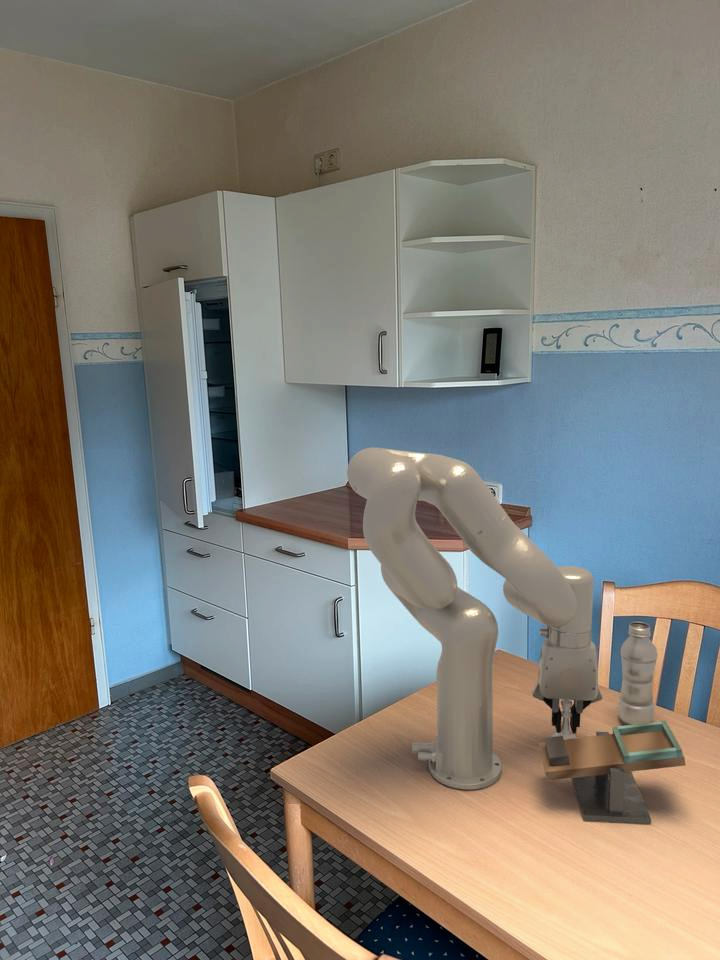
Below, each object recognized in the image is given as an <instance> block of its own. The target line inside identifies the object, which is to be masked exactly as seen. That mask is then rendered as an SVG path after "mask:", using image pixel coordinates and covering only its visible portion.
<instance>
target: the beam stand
mask: <svg viewBox="0 0 720 960" xmlns="http://www.w3.org/2000/svg"><path fill="white" fill-rule="evenodd" d="M607 734H610V732H609V731H596V732H595V736H598V735H607ZM571 780H572V784H573V786H574V788H573V789H574V792H575V795H576V798H577V802H578V806H579V809H580V813H581V817H582V820H583V822H594V823H595V822H598V823H617V824H633V825H634V824H636V825H637V824H638V825H639V824H640V825H651V822H652V818H651V815H650V813H649V811H648V809H647V806H646V803H645V801H644V799H643V796H642V794H641V791H640V789H639V787H638V784H637V782H636V780H635V777H634V774H633V771H631V772H624V770H623V768H609V774H604V775H595V776H586V777H577V778H571Z"/></svg>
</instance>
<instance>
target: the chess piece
mask: <svg viewBox="0 0 720 960" xmlns="http://www.w3.org/2000/svg"><path fill="white" fill-rule="evenodd" d="M560 704H561V708H562V710H561V714H562V721H561V732H560V733H557V732H555V733H553V734H552V735H551V737H556V736H563V738H564V739H573V738H578V737H577V735H576V734H573V733H572V732H571V730H570V729H571V727H570V717H572V713H571V712H570V708H571V707H572V705H573V702H572V700H564V699H561V700H560Z"/></svg>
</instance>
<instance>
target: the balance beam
mask: <svg viewBox="0 0 720 960" xmlns="http://www.w3.org/2000/svg"><path fill="white" fill-rule="evenodd" d="M611 729H612V733H609V734H607V735H598V736H596V735H591V736H583V737H577V738H573V739H564V738H563V736H556V737H552V736H548V737H545V738H544V741H540V742H538V744H539V749H540V754H541V759H542V764H543V769H544V774H545V777H546V781H547V782H549V781H558V780H566V779H572V778H577V777H586V776H595V775H604V774H609V768H623V770H624V772H638V771H639V772H640V771H648V770H657V769H667V768H676V767H677V768H678V767H683V766H685V767H686V759H685V755H684V754H683V753H684V752H683V749H682V747H681V746H680V744H679V742H678V740H677V738H676V736H675V735H674V733H673V732H672V731H673V730H671V727H670V725H669V724H668V722H667V721H666V720H660V721H652V722H651V723H642V724H634V725H628V724H626V725H620V726H612V727H611Z"/></svg>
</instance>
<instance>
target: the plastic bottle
mask: <svg viewBox="0 0 720 960" xmlns="http://www.w3.org/2000/svg"><path fill="white" fill-rule="evenodd" d="M628 635H629V636H628V637H627V638H626V639H625V640H624V641H623V643H622V644H621V647H620V658H621V659H620V660H621V667H622V668H621V669H622V672H621V673H622V676H621V677H622V678H621V679H622V680H621V681H622V682H621V689H620V695H619V696H620V697H619V699H618V702H617V708H616V709H617V715H618V717H619V719H620V720H621V721H622V723H624V724H626V725H634V724H642V723H651V722H654V721H653V720H654V717H655V713H656V712H655V705H654V695H653V693H654V692H653V684H654V683H653V682H654V675H655V669H656V666H657V659H658V650H657V647H656V646H655V644H654V643H653V641H652V640H651V639H650V637H651V636H652V635H651V626H650V624H648V623H646V622H642V621H632V622H630V623H629V625H628Z"/></svg>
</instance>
